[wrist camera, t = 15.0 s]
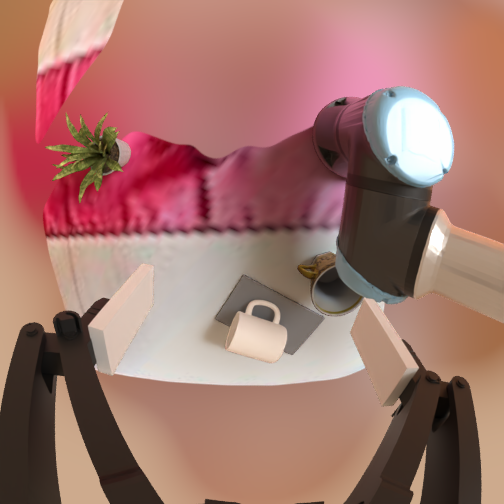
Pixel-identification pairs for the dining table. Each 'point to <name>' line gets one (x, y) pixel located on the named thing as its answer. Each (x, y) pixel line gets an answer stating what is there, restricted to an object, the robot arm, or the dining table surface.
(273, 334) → the cup
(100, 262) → the dining table surface
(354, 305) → the ceramic cup
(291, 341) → the mat
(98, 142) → the house plant
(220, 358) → the dining table surface
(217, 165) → the dining table surface
